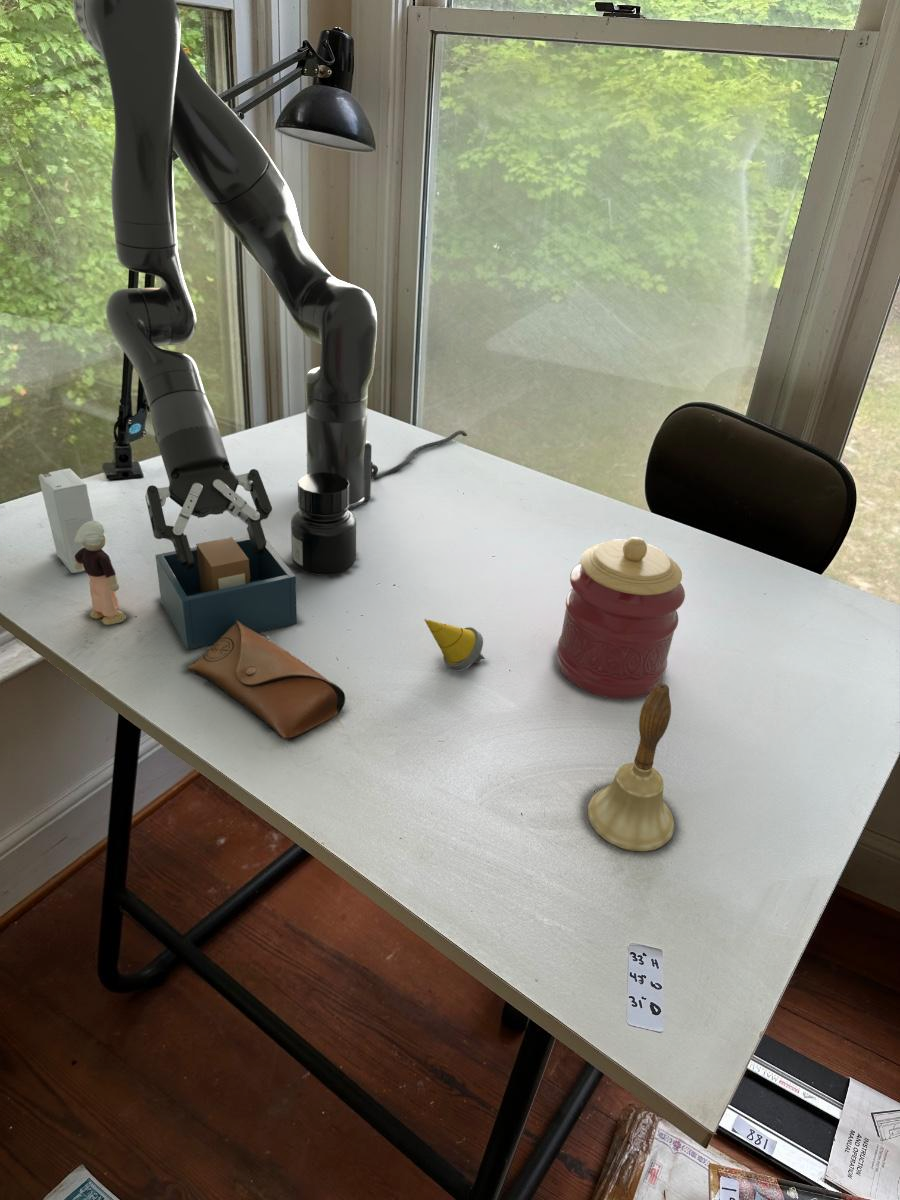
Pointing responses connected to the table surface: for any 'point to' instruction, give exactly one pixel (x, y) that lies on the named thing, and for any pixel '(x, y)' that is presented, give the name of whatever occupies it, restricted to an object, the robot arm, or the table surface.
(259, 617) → the open storage box
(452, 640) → the yellow spinning top
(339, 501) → the ink bottle
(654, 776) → the hand bell
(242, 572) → the brown packet
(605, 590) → the kitchen canister
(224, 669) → the sunglasses case
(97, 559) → the grandmother figurine
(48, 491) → the cosmetic box
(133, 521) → the table surface
